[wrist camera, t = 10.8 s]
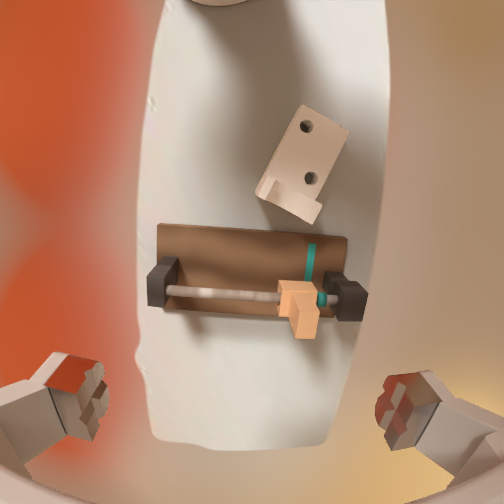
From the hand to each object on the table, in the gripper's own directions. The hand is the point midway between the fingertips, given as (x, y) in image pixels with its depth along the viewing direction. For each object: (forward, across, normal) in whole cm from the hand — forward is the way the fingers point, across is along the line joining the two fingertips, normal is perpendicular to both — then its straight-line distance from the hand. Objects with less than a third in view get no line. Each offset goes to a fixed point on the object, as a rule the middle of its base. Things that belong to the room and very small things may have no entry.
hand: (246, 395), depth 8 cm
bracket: (+36, -7, -8) cm, 37 cm away
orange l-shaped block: (+28, -7, +8) cm, 30 cm away
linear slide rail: (+35, -2, +8) cm, 36 cm away
